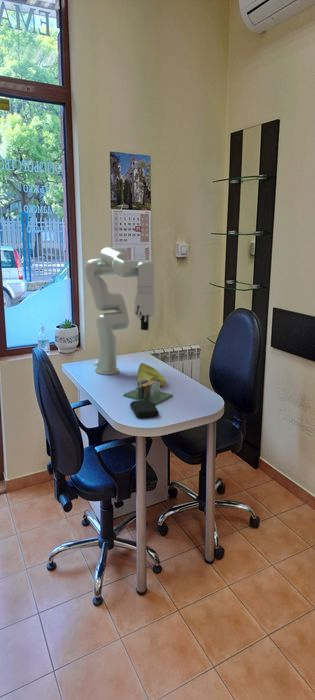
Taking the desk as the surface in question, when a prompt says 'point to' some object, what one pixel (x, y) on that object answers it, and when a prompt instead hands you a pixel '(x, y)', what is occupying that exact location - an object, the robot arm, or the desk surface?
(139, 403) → the carrying case or bag
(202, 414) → the desk surface
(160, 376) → the plastic component
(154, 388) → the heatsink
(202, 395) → the desk surface
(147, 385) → the tan rectangular block
